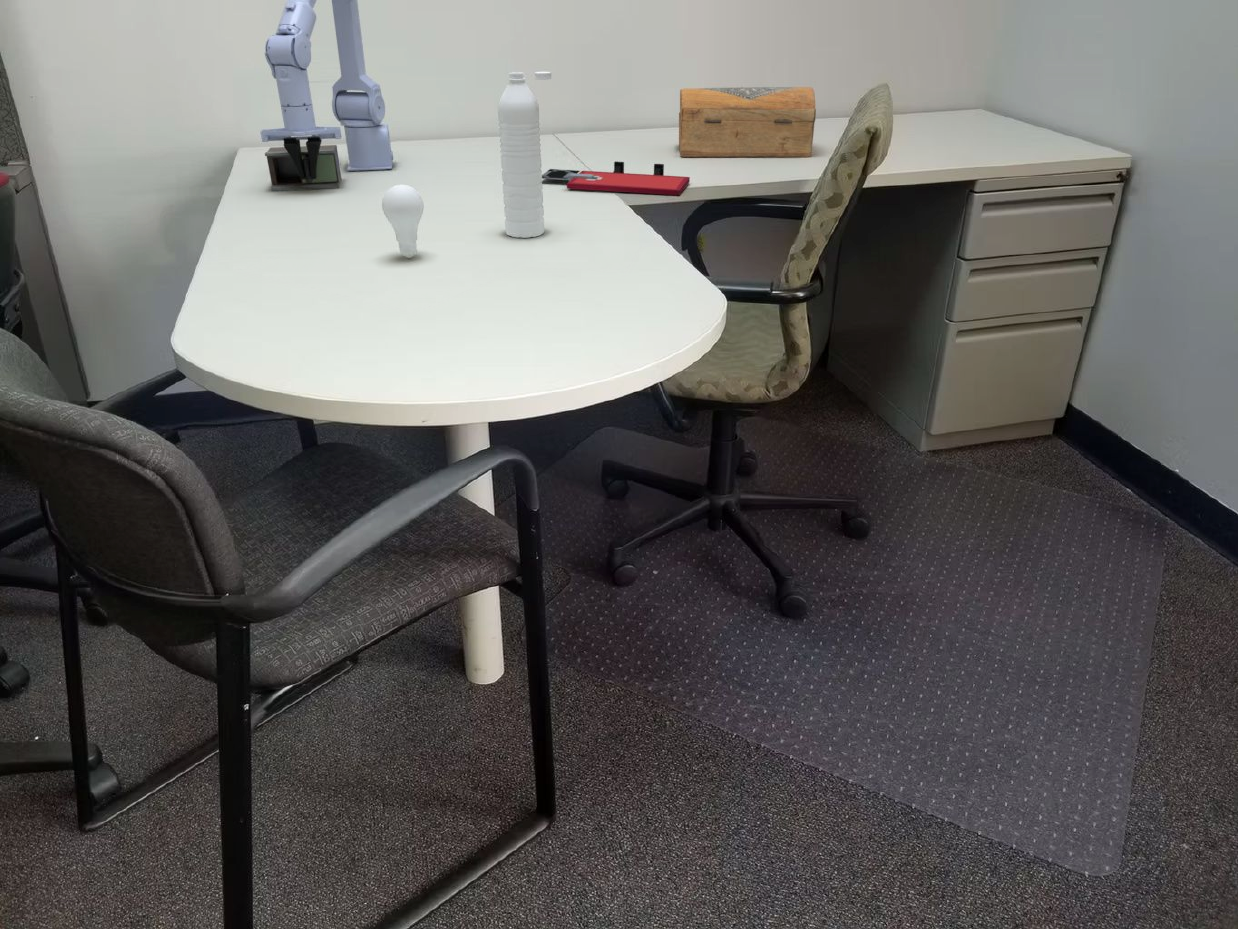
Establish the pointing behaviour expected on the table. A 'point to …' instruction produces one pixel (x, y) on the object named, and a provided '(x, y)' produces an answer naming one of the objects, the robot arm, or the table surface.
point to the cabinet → (287, 173)
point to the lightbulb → (404, 216)
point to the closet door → (320, 169)
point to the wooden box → (747, 122)
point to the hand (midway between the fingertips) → (308, 178)
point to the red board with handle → (622, 180)
